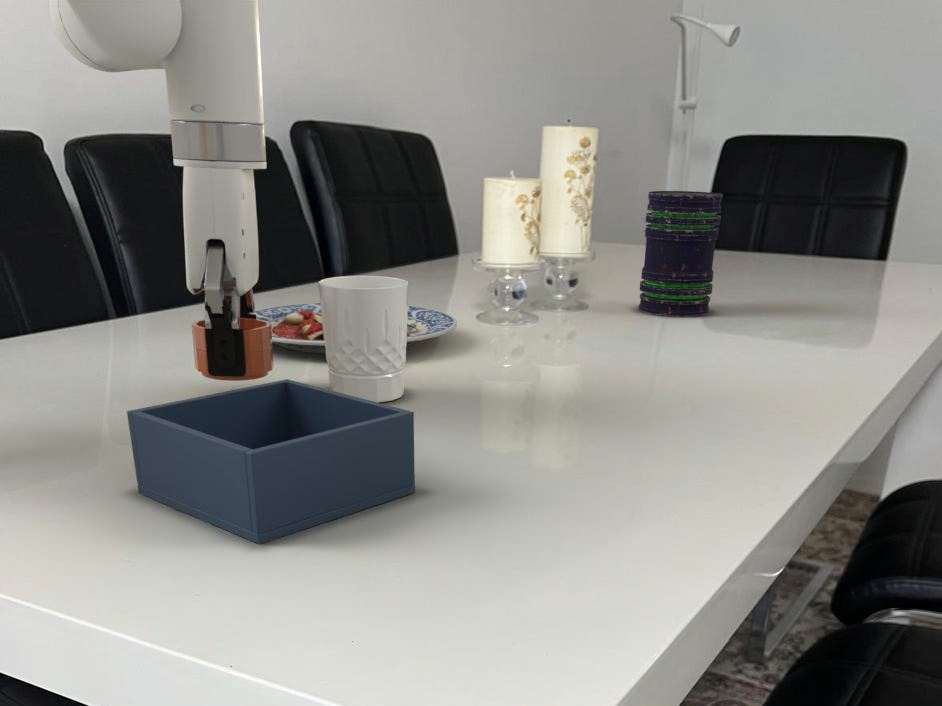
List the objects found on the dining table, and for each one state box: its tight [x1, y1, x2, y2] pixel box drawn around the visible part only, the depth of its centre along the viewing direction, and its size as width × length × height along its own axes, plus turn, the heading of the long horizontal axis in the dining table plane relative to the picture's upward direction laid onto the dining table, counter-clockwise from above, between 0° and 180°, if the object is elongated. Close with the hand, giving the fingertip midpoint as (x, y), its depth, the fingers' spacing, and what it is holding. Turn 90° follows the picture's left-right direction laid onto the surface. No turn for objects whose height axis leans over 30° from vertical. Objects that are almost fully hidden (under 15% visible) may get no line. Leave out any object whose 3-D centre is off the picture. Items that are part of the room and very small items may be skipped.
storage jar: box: [638, 190, 724, 318], centre depth 135 cm, size 10×10×15 cm
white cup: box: [318, 275, 409, 403], centre depth 90 cm, size 8×8×10 cm
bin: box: [126, 378, 416, 545], centre depth 66 cm, size 13×13×6 cm
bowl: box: [191, 318, 274, 382], centre depth 90 cm, size 7×7×4 cm
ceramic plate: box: [254, 302, 458, 355], centre depth 115 cm, size 26×26×3 cm
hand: (234, 365), depth 90 cm, fingers closed on bowl, 6 cm apart
